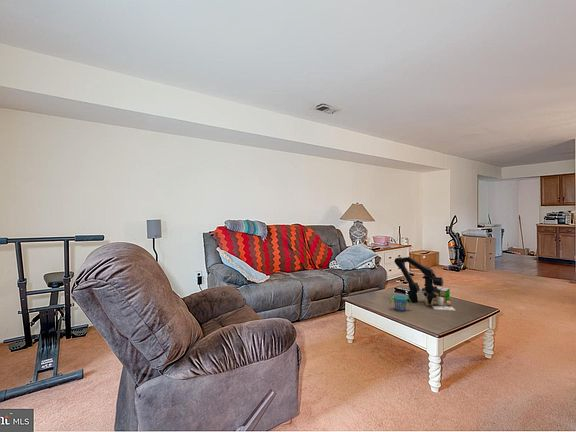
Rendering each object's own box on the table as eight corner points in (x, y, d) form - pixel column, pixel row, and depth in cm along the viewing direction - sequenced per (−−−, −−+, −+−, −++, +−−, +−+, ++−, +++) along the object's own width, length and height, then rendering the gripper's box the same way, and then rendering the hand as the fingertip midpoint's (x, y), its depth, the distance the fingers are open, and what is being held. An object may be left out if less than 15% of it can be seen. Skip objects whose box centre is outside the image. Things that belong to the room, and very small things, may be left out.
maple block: (426, 305, 227) (426, 297, 227) (424, 303, 232) (424, 295, 232) (433, 305, 226) (433, 298, 226) (431, 303, 231) (431, 296, 231)
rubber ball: (447, 305, 225) (447, 301, 225) (445, 304, 228) (445, 300, 228) (451, 306, 224) (451, 301, 224) (450, 304, 228) (450, 300, 228)
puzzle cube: (437, 297, 246) (437, 286, 246) (449, 300, 239) (449, 288, 239) (433, 300, 239) (433, 288, 239) (446, 303, 232) (446, 291, 232)
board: (434, 310, 216) (434, 308, 216) (431, 306, 223) (431, 305, 223) (455, 311, 213) (455, 309, 213) (452, 307, 221) (452, 306, 221)
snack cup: (409, 308, 221) (409, 295, 221) (412, 312, 211) (412, 299, 211) (389, 306, 225) (389, 294, 225) (390, 311, 215) (390, 298, 215)
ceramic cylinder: (438, 305, 226) (438, 298, 226) (437, 304, 230) (437, 296, 229) (444, 305, 225) (444, 298, 225) (442, 304, 229) (442, 297, 229)
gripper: (443, 287, 218) (443, 307, 218) (435, 281, 236) (435, 299, 237) (428, 287, 220) (428, 306, 220) (421, 281, 238) (421, 299, 239)
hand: (428, 302), depth 229 cm, fingers closed on maple block, 5 cm apart
